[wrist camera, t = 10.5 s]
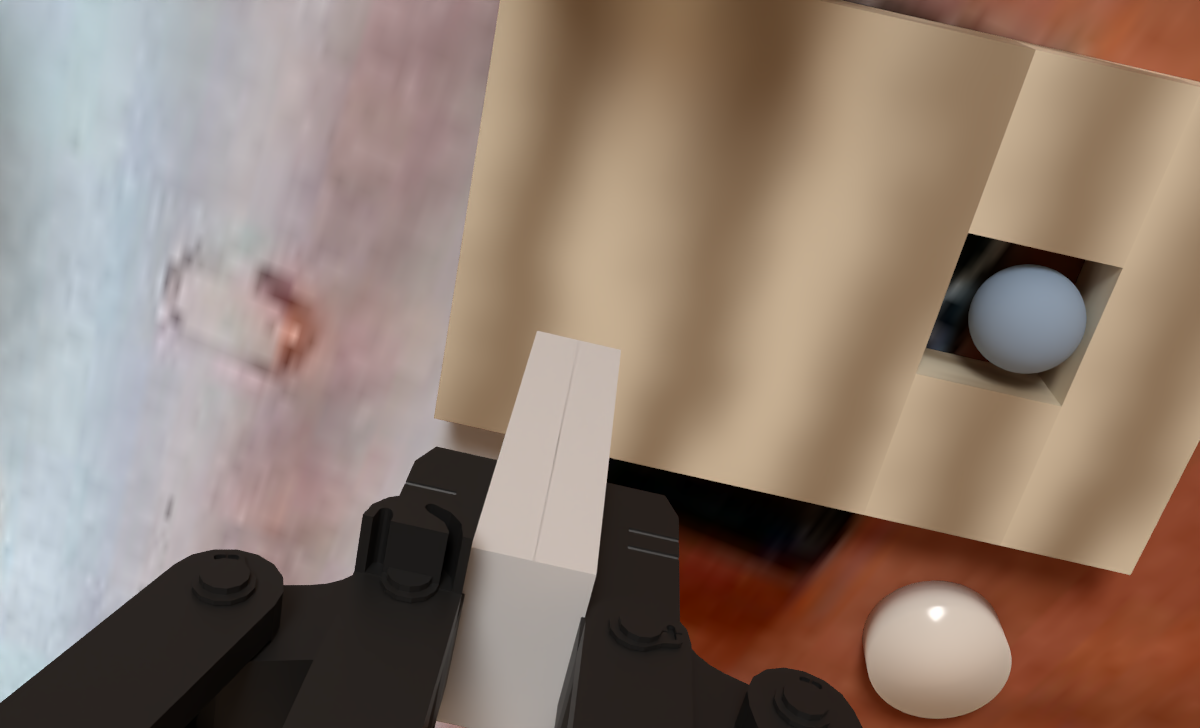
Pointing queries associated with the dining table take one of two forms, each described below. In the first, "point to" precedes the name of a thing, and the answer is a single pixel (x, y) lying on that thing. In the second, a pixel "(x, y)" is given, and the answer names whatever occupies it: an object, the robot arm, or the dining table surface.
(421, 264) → the dining table surface
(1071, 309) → the ball
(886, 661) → the glossy white dome
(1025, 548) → the board
